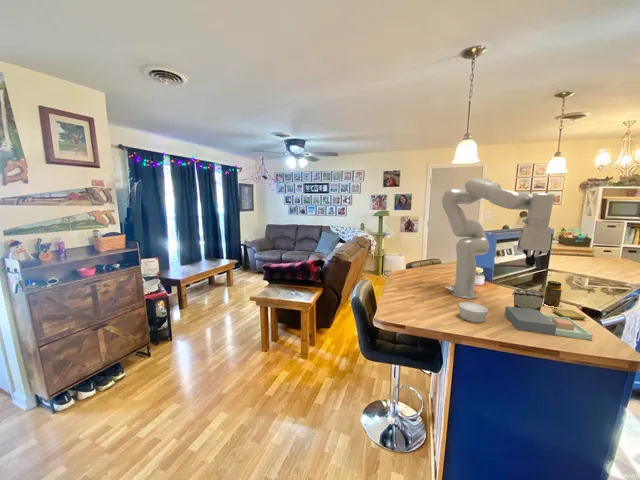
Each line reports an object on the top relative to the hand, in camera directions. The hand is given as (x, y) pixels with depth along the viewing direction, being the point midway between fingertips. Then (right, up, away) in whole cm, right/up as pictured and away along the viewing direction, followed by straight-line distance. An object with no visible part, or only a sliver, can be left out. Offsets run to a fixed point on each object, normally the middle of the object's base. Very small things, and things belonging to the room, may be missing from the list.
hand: (529, 265), depth 114 cm
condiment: (+26, -22, +20) cm, 39 cm away
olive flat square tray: (+22, -24, +6) cm, 33 cm away
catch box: (+8, -25, -7) cm, 27 cm away
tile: (+8, -22, -7) cm, 24 cm away
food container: (+6, -23, +11) cm, 26 cm away
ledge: (-3, -24, -3) cm, 25 cm away
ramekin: (-24, -23, +2) cm, 33 cm away
